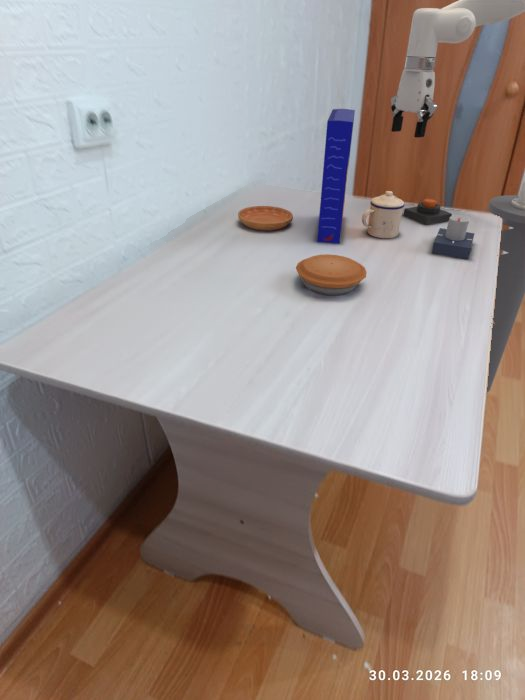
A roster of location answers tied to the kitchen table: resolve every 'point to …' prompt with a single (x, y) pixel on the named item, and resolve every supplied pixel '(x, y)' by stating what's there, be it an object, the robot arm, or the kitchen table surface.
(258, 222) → the saucer
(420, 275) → the kitchen table surface
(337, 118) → the cereal box
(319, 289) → the pie
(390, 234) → the teacup with lid
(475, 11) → the robot arm
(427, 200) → the button
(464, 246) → the dial panel
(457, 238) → the dial
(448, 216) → the switch block
